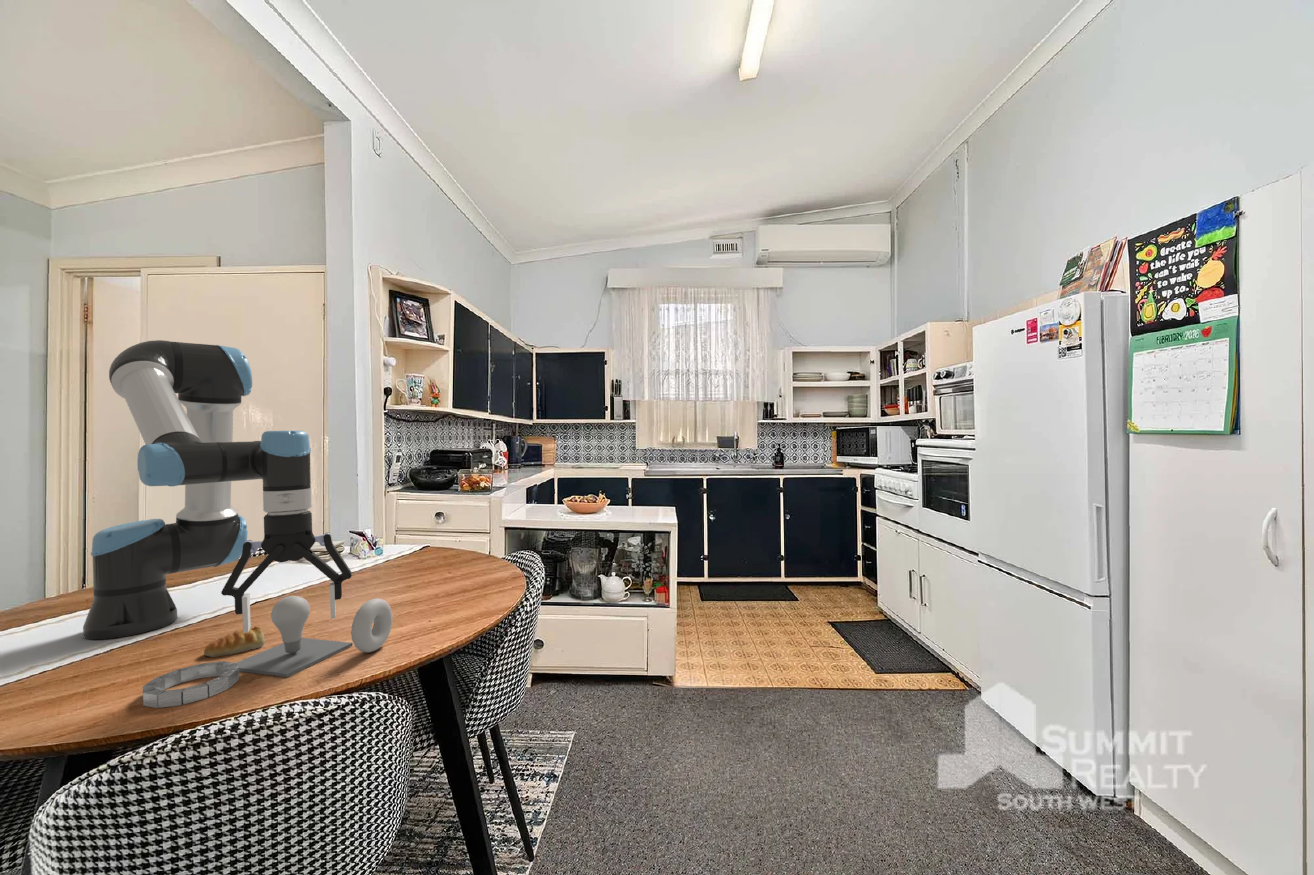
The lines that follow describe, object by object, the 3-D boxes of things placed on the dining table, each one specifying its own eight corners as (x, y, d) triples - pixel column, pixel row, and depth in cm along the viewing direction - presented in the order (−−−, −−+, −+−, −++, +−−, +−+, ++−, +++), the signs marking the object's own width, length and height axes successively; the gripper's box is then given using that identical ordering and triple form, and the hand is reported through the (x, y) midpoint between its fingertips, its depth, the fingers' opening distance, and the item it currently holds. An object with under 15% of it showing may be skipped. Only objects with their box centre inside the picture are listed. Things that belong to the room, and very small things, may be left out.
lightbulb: (291, 646, 106) (288, 591, 105) (320, 647, 105) (316, 591, 104) (265, 660, 100) (261, 601, 99) (294, 661, 99) (291, 602, 98)
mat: (226, 669, 97) (226, 666, 97) (297, 640, 111) (297, 637, 111) (287, 677, 94) (287, 673, 94) (352, 645, 107) (352, 642, 107)
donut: (364, 661, 99) (363, 608, 99) (347, 661, 100) (345, 607, 100) (397, 640, 109) (395, 591, 109) (381, 640, 110) (379, 591, 110)
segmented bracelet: (123, 702, 86) (123, 690, 86) (204, 669, 97) (204, 658, 97) (178, 711, 83) (177, 698, 83) (255, 676, 94) (254, 665, 94)
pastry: (207, 663, 101) (206, 642, 101) (201, 654, 106) (200, 634, 106) (267, 647, 108) (267, 628, 108) (259, 639, 113) (259, 621, 112)
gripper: (198, 521, 92) (202, 643, 93) (363, 508, 105) (366, 616, 105) (208, 515, 99) (212, 630, 99) (362, 503, 111) (365, 606, 112)
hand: (291, 623), depth 102 cm, fingers open, 13 cm apart
